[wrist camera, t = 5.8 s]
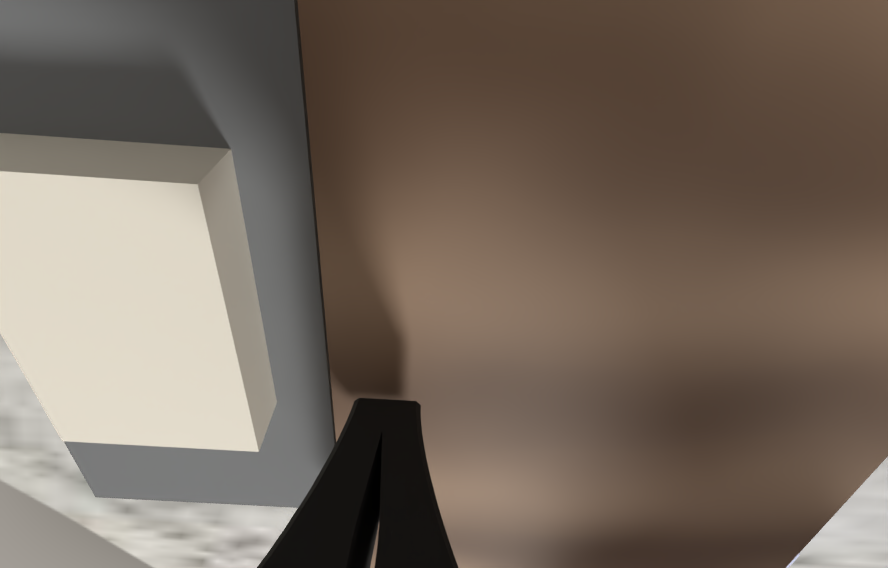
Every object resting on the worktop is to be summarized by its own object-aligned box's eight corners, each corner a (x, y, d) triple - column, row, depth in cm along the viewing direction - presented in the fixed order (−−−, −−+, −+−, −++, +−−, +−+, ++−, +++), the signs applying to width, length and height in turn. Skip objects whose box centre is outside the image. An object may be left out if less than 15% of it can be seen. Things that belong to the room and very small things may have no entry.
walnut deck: (693, 519, 22) (734, 623, 19) (365, 502, 22) (350, 605, 19) (1114, -145, 9) (1464, -175, 6) (338, -212, 9) (272, -282, 6)
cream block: (62, 441, 16) (98, 392, 18) (258, 452, 16) (277, 402, 18) (-97, 164, 11) (-24, 131, 12) (197, 184, 11) (230, 149, 12)
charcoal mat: (341, 500, 22) (340, 509, 21) (101, 488, 22) (95, 497, 21) (280, -217, 9) (274, -222, 9) (-316, -269, 9) (-346, -276, 8)
